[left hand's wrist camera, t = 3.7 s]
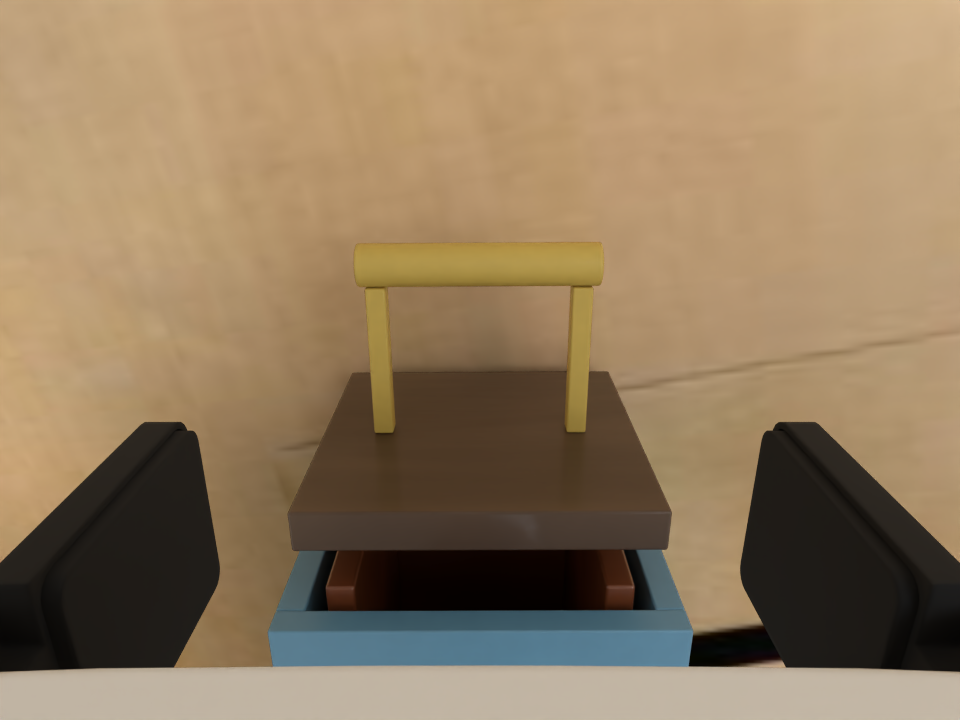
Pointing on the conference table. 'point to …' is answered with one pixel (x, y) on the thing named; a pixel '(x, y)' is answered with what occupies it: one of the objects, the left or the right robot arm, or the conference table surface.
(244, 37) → the conference table surface
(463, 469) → the drawer
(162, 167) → the conference table surface
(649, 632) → the cabinet
